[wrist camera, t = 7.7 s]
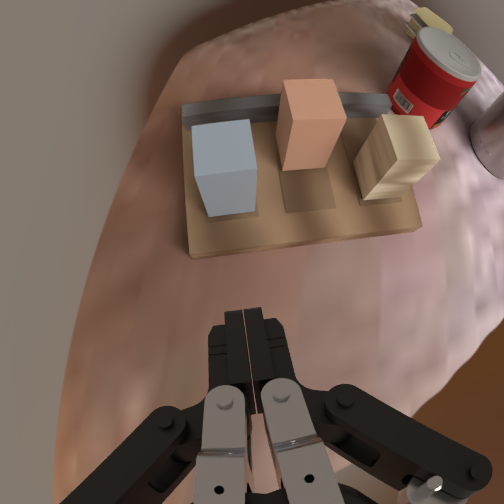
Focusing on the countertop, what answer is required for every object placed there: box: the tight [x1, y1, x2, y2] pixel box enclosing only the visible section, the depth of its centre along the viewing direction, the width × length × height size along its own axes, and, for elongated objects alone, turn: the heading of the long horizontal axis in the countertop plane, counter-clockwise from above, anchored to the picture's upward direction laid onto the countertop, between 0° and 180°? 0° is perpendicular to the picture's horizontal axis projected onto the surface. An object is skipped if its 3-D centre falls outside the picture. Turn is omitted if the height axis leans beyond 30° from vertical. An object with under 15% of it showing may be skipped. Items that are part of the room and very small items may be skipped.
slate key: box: [192, 119, 257, 217], centre depth 24 cm, size 4×4×8 cm
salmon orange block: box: [276, 79, 347, 171], centre depth 25 cm, size 4×4×8 cm
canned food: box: [388, 27, 481, 129], centre depth 28 cm, size 8×8×11 cm
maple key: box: [353, 114, 440, 200], centre depth 25 cm, size 4×4×8 cm
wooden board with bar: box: [181, 92, 422, 259], centre depth 29 cm, size 22×16×4 cm
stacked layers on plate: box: [405, 8, 453, 40], centre depth 35 cm, size 10×9×6 cm
